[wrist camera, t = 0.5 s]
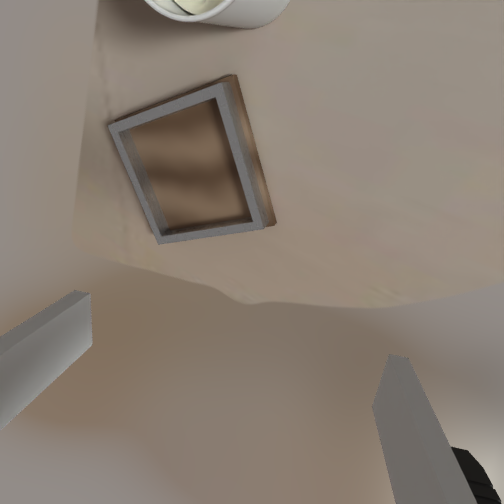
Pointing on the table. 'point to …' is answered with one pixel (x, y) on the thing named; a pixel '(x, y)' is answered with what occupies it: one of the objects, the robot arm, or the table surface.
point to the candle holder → (222, 11)
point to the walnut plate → (198, 163)
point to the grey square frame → (240, 154)
